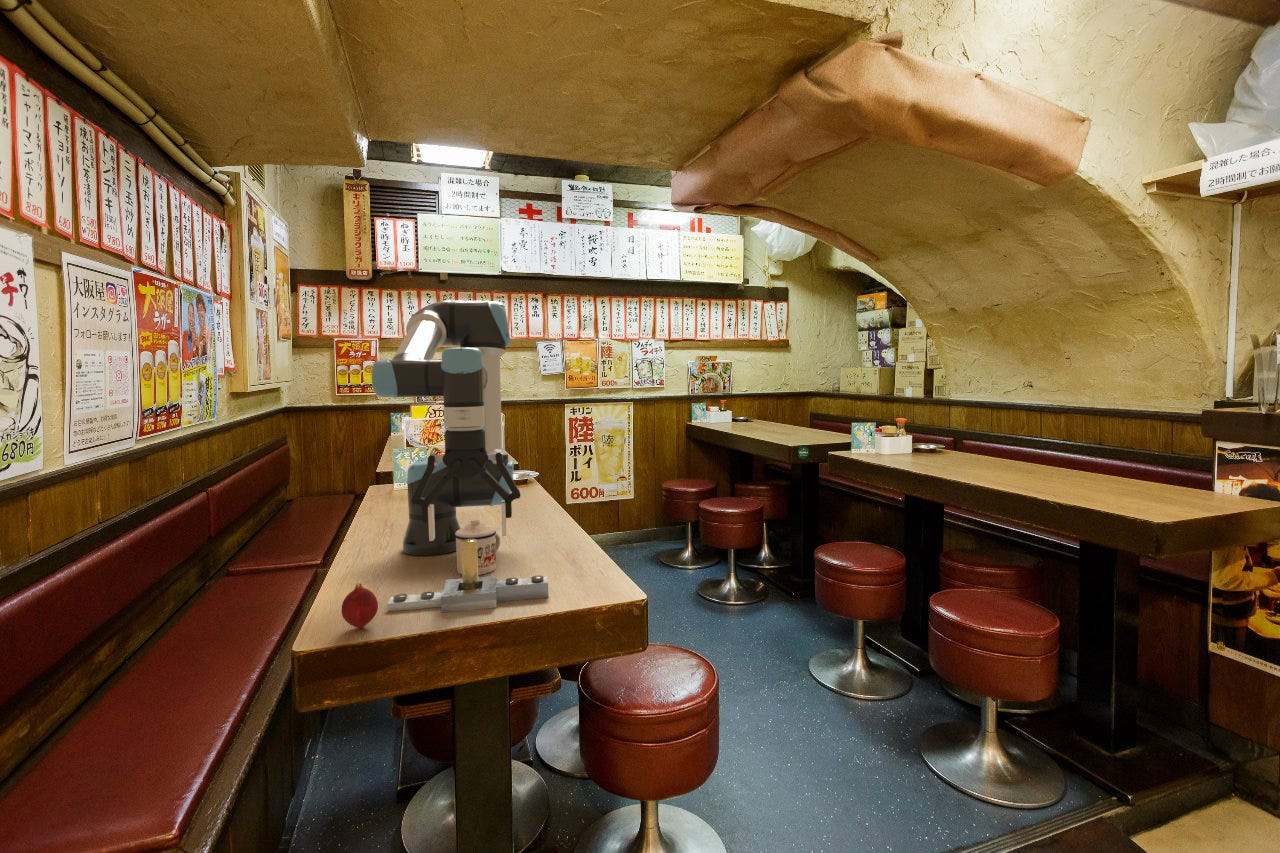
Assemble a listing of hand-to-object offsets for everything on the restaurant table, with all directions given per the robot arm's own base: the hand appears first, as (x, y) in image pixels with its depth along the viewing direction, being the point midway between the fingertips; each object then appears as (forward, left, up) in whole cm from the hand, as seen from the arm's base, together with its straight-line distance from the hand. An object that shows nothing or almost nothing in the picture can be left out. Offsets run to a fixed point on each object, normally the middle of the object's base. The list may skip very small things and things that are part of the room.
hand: (468, 536), depth 116 cm
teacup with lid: (-21, +1, -13) cm, 24 cm away
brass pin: (0, 0, -13) cm, 13 cm away
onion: (+9, -18, -13) cm, 24 cm away
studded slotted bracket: (0, 0, -13) cm, 13 cm away
